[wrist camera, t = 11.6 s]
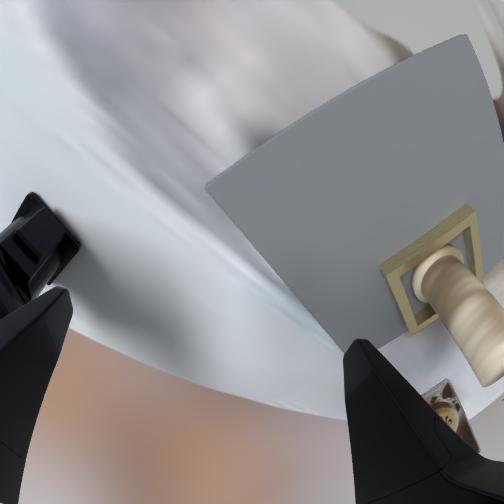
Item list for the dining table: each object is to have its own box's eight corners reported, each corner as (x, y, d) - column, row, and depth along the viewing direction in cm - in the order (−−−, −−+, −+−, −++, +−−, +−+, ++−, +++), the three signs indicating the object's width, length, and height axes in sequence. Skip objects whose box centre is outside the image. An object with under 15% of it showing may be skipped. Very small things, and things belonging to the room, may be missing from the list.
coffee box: (446, 377, 37) (480, 450, 23) (452, 385, 40) (482, 450, 26) (403, 405, 40) (431, 479, 26) (413, 411, 43) (438, 477, 29)
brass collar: (405, 326, 26) (411, 336, 25) (378, 265, 22) (385, 275, 21) (475, 275, 24) (483, 283, 22) (465, 203, 19) (475, 210, 18)
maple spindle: (408, 304, 25) (466, 402, 14) (411, 254, 22) (491, 360, 11) (454, 283, 24) (516, 367, 14) (461, 235, 21) (544, 320, 11)
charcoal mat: (350, 357, 29) (352, 362, 29) (205, 185, 18) (204, 188, 18) (509, 244, 23) (513, 247, 22) (460, 34, 12) (466, 34, 12)
